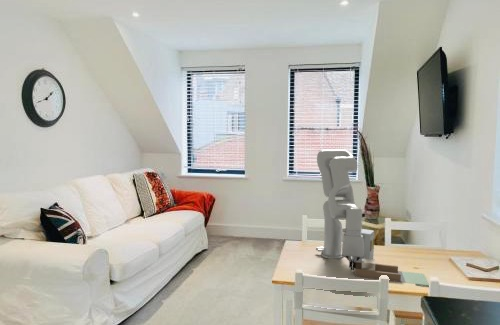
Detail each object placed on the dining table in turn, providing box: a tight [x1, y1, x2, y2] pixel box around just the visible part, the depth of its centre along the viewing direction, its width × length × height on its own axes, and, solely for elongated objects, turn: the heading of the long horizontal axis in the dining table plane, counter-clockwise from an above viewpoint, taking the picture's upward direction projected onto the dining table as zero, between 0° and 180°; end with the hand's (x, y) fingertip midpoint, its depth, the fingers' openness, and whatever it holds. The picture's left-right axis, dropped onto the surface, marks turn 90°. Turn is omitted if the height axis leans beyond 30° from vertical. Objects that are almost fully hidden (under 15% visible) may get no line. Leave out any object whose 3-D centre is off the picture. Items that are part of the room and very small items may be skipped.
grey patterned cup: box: [361, 258, 376, 271], centre depth 172 cm, size 6×6×6 cm
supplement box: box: [351, 228, 375, 263], centre depth 189 cm, size 10×9×17 cm
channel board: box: [354, 262, 430, 287], centre depth 169 cm, size 32×14×4 cm, turn 74°
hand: (352, 269), depth 174 cm, fingers closed
